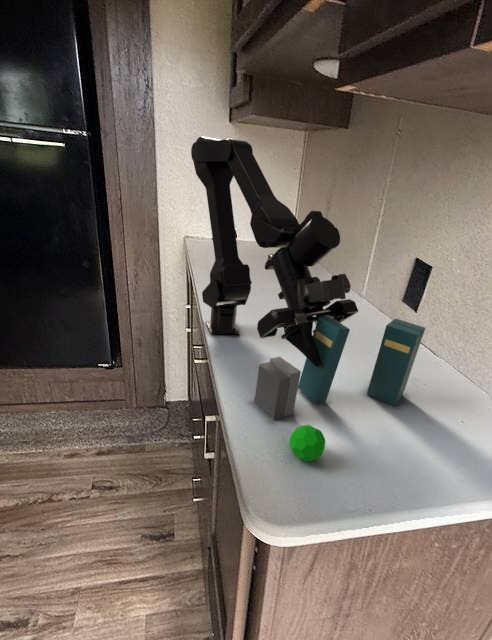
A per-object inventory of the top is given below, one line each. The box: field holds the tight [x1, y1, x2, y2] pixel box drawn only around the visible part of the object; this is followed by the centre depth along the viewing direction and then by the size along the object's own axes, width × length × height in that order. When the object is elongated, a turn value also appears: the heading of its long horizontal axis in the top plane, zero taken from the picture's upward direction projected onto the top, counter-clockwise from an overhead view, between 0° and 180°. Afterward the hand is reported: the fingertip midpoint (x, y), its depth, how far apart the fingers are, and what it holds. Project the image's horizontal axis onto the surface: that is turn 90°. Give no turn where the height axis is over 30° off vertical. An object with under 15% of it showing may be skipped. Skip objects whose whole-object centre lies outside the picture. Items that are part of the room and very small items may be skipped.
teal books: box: [366, 318, 426, 406], centre depth 72 cm, size 6×5×14 cm
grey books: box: [253, 356, 302, 421], centre depth 64 cm, size 6×4×8 cm
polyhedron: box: [288, 424, 326, 462], centre depth 55 cm, size 5×5×5 cm
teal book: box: [298, 316, 351, 404], centre depth 68 cm, size 6×2×14 cm, turn 32°
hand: (326, 364), depth 67 cm, fingers closed on teal book, 3 cm apart
